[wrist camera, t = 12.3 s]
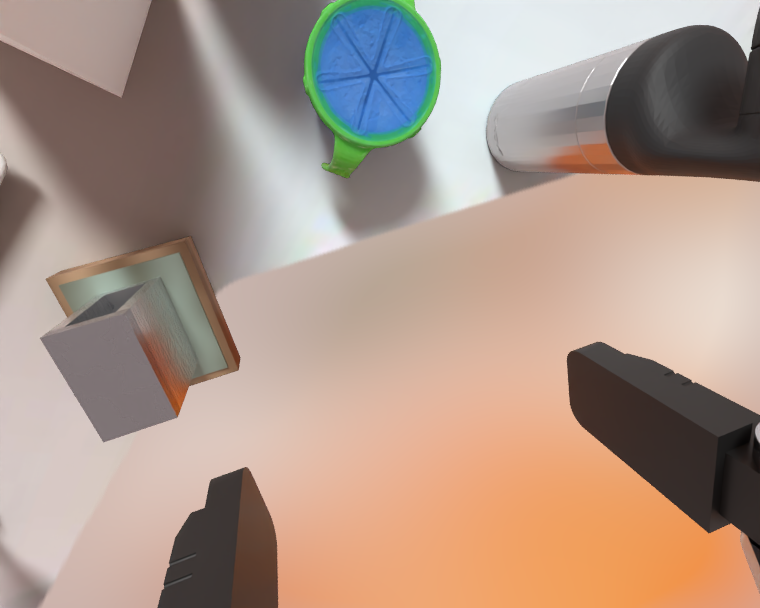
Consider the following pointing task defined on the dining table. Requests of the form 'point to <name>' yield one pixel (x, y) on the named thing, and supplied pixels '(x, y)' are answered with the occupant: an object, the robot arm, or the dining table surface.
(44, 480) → the dining table surface
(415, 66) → the snack cup
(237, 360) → the wooden tray
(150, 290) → the housing
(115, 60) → the milk
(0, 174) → the square plate
